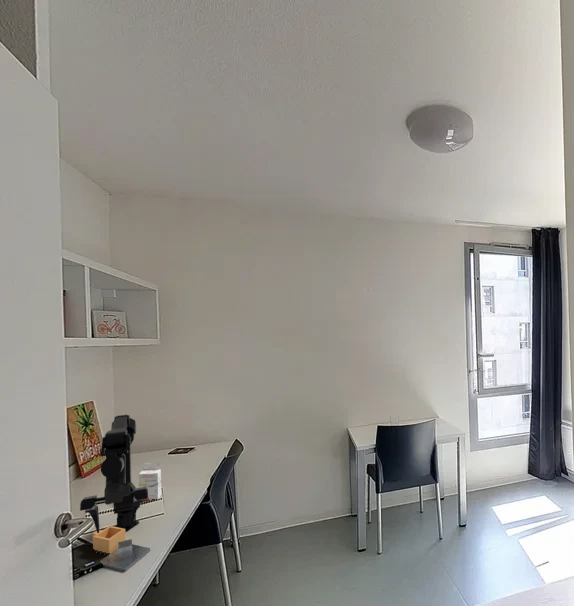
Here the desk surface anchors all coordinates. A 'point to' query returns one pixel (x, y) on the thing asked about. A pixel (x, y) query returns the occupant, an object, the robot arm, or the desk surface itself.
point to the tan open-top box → (108, 539)
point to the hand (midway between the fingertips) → (115, 529)
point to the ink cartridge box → (151, 480)
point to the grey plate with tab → (125, 556)
